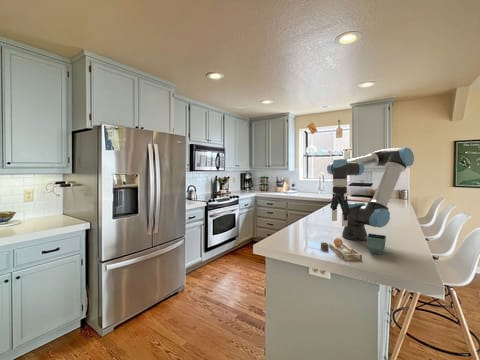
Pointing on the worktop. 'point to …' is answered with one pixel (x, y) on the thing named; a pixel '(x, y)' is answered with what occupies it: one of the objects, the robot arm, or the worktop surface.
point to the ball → (338, 242)
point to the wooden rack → (349, 255)
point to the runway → (341, 248)
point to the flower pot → (376, 243)
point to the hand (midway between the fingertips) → (339, 223)
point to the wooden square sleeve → (324, 246)
